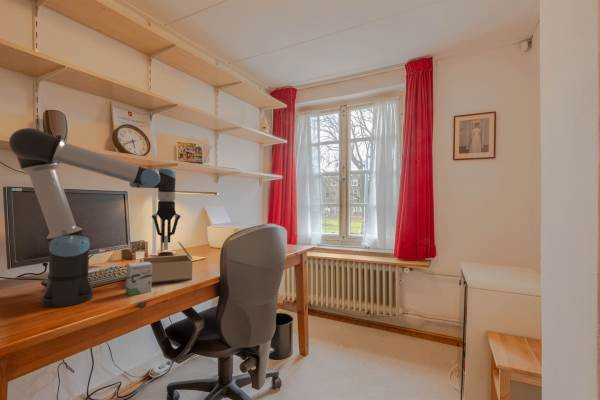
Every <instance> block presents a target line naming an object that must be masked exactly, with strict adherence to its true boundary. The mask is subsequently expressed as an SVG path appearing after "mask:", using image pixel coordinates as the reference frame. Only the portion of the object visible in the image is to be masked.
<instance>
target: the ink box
mask: <svg viewBox="0 0 600 400" xmlns="http://www.w3.org/2000/svg"><path fill="white" fill-rule="evenodd" d="M125 277H126V278H125V281H126V283H125V293H126V295H127V296H133V295H138V294H144V293H145V294H146V293H149V292H152V285H153V284H152V264H151V263H150V262H140V261H139V262H132V263H131V262H130V263H127V264H126V276H125Z"/></svg>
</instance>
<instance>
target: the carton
mask: <svg viewBox="0 0 600 400" xmlns="http://www.w3.org/2000/svg"><path fill="white" fill-rule="evenodd" d="M140 262H150V263H151V264H152V285H153V284H163V283H173V282H182V281H191V280H193V259H191V258H190V257H189V256H188V255H187V254H178V255H177V254H176V255H174V256H160V257H158V256H148V257H147V256H146V257H142V258H140V261H139V263H140Z"/></svg>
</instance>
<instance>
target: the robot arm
mask: <svg viewBox="0 0 600 400" xmlns="http://www.w3.org/2000/svg"><path fill="white" fill-rule="evenodd" d="M8 140H9V141H8V145H9V147H10V150H11V151H12V152H13V154H14V155H16V157H17V161H18V163H19V166H20V169H21V170H22V172H25V173H27V174H28V176H29V179H30V181H31V184H32V187H33V190H34V192H35V196H36V199H37V201H38V204H39V206H40V207H39V208H40V209H41V212H42V215H43V218H44V220H45V223H46V226H47V228H48V229H47V230H48V231H49V233H48V235H47V236H46V240H47V244H48V251H49V257H48V259H49V260H48V261H49V262H48V282H47V285H46V288H45V290H44V291H43V294H42V295H41V303H40V304H41V306H43V307H45V308H47V307H48V308H62V307H68V306H74V305H78V304H82V303H85V302H88V301H89V300H92V299H93V297H94V289H93V286H92V284H91V281H90V278H89V265H90V263H89V262H90V261H89V260H90V246H91V244H90V239H89V238H88V237H87V236H86V235H85V233H84V232H83V228H81V227H80V226H77V225H76V221H75V219H74V217H73V213H72V209H71V207H70V205H69V201H68V198H67V196H66V192H65V189H64V186H63V184H62V180H61V178H60V175H59V171H58V168H59V167H60V166H61V164H64V165H66V166H67V165H68V166H71V167H74V168H78V169H80V170H81V169H82V170H86V171H89V172H93V173H96V174H99V175H103V176H108V177H110V178H114V179H117V180H120V181H121V180H122V181H124V182H128V183H129V187H130V188H136V189H142V188H143V189H157V191H158V192H157V193H158V194H157V200H158V202H157V210H156V213H154V214H152V215H151V218H152V219H153V221H154V222H153V223H154V224H155V230H156V234H157V235H159V236H160V237H161V243H163V250H164V251H166V250H168V249H169V248H168V247H169V246H168V245H169V243H171V236H172V235H175V233H176V230H177V226H178V222H179V219H181V214H178V213H176V202H175V200H176V171H175V170H174V169H172V168H159V169H158V171H157V170H156V169H153V168H145V167H142V166H139V165H137V164H133V163H132V162H131V163H130V162H127V161H124V160H122V159H117V158H114V157H111V156H108V155H105V154H103V153H98V152H95V151H92V150H89V149H86V148H83V147H80V146H76V145H73V144H71V143H68V142H66V141H65V140H64V139H63V138H62V137H57V136H54V135H52V134H49V133H46V132H44V131H42V130H40V129H36V128H30V127H28V128H20V129H18V130H16V131H14V132H13V133H12V134H11V135H10V137H9V139H8ZM158 217H159V219H160V220H161V230H160V227H159V222H158ZM173 218H175V219H174V222H173V225H172V219H173ZM166 221H167V228H166ZM171 226H172V228H171ZM166 229H167V233H166V232H165V231H166ZM165 233H166V234H167V235H166V234H165Z"/></svg>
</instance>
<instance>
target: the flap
mask: <svg viewBox="0 0 600 400" xmlns="http://www.w3.org/2000/svg"><path fill="white" fill-rule="evenodd" d="M177 243H178V245H179V246H180V247H181V248H182V250H183V251H184V252H185V253H186V254H185V255H188V256H189V258H190V259H191V260H193V257H192V256H191V254H190V253H189V251H187V249H186V248H185V247H184V246H183V244H182V243H181V242H180V241H178V242H177Z"/></svg>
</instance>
